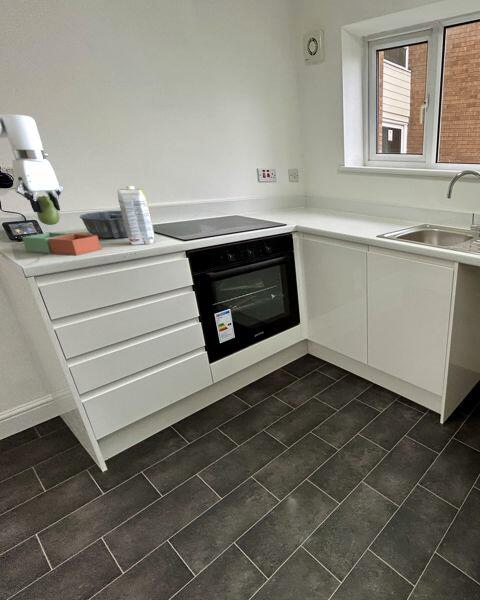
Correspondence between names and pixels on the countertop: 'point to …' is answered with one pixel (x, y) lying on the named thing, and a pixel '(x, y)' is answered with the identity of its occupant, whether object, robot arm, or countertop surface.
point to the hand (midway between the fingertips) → (47, 210)
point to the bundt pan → (105, 224)
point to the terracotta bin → (74, 244)
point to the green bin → (41, 242)
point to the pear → (48, 211)
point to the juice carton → (136, 215)
